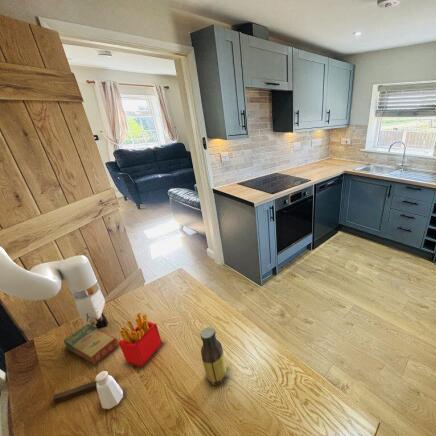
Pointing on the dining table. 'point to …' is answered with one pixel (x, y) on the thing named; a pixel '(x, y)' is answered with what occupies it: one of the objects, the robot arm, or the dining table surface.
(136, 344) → the french fries container
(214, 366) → the sauce bottle
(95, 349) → the carton
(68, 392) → the rail
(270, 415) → the dining table surface
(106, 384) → the pepper shaker
